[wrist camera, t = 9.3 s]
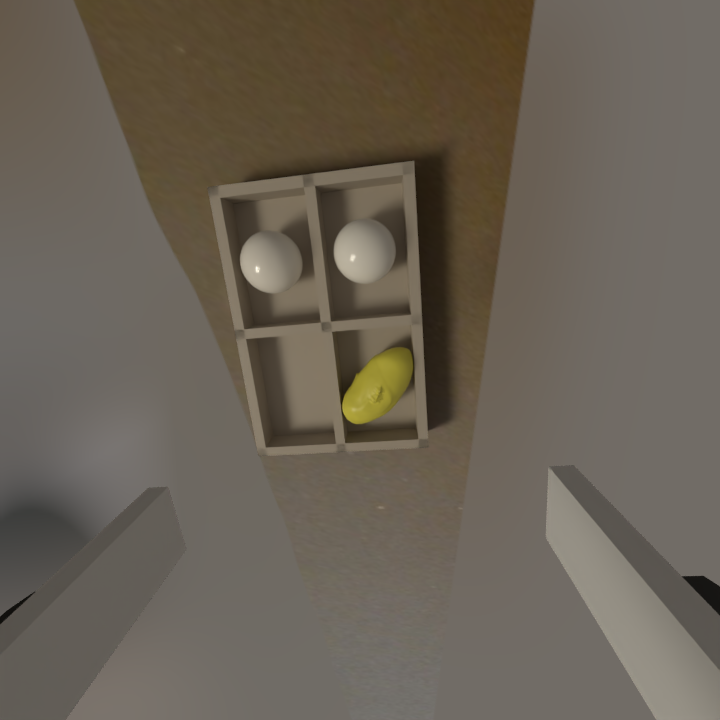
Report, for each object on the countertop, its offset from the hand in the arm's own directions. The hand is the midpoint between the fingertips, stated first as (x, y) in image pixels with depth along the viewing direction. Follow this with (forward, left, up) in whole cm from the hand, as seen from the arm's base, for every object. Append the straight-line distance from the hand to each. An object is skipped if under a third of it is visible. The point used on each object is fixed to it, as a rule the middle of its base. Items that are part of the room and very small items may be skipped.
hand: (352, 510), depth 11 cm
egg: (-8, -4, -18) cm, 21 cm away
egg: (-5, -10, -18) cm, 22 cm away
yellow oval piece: (+1, +1, -19) cm, 18 cm away
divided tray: (-2, -5, -19) cm, 20 cm away
